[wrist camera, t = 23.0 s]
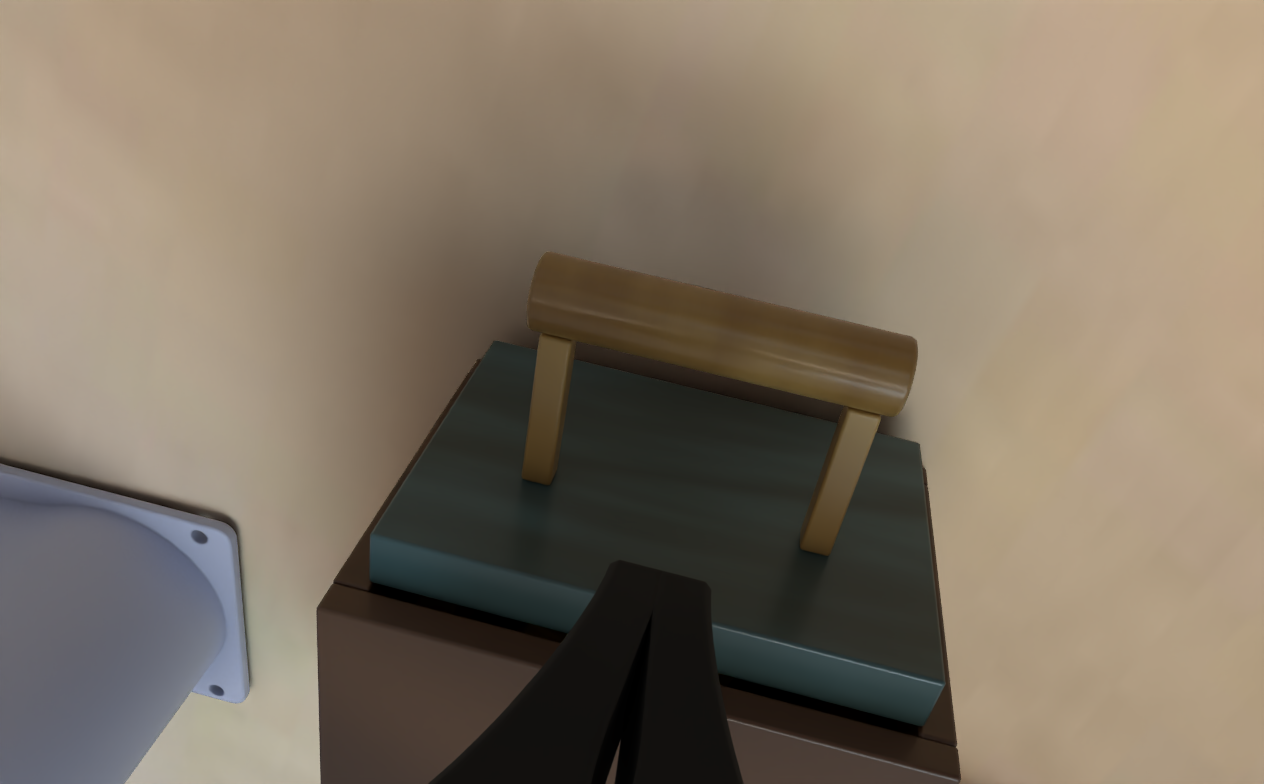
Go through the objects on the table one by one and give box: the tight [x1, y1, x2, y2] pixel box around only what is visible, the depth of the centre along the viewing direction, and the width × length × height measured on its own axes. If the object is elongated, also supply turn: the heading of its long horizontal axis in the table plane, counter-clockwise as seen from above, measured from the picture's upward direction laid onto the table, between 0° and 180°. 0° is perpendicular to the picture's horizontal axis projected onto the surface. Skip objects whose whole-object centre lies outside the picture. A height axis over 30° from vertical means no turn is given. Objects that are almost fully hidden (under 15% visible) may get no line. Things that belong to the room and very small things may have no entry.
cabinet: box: [317, 359, 961, 784], centre depth 24 cm, size 13×11×9 cm
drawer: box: [369, 252, 946, 726], centre depth 22 cm, size 17×10×7 cm, turn 171°
